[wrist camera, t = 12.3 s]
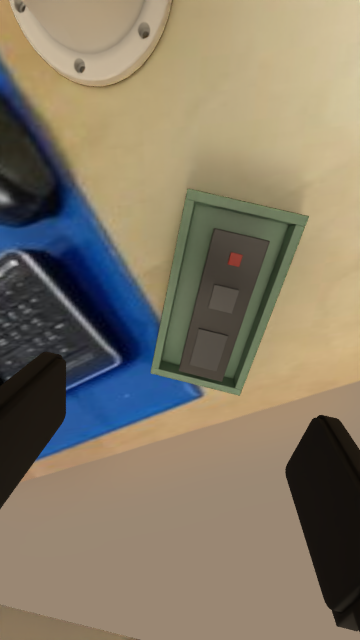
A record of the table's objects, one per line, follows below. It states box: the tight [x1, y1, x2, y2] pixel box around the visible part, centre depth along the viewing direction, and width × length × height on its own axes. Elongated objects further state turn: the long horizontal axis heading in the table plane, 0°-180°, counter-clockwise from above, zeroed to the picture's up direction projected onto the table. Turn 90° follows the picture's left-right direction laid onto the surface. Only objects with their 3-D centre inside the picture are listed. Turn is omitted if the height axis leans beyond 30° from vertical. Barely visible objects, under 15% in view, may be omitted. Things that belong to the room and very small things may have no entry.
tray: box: [151, 189, 309, 396], centre depth 24 cm, size 19×10×2 cm, turn 168°
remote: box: [179, 228, 270, 382], centre depth 23 cm, size 14×5×4 cm, turn 168°
